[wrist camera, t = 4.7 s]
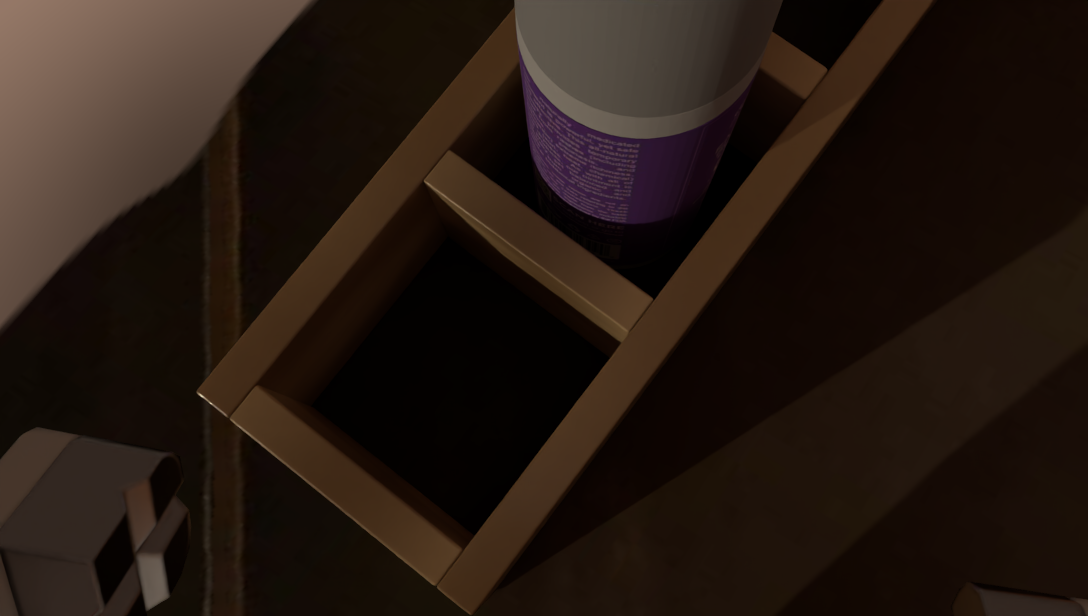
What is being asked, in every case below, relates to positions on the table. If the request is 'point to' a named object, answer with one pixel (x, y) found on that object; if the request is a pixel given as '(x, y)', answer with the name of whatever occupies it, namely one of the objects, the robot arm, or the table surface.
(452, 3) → the table surface
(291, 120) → the table surface
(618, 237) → the container
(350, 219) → the rack
